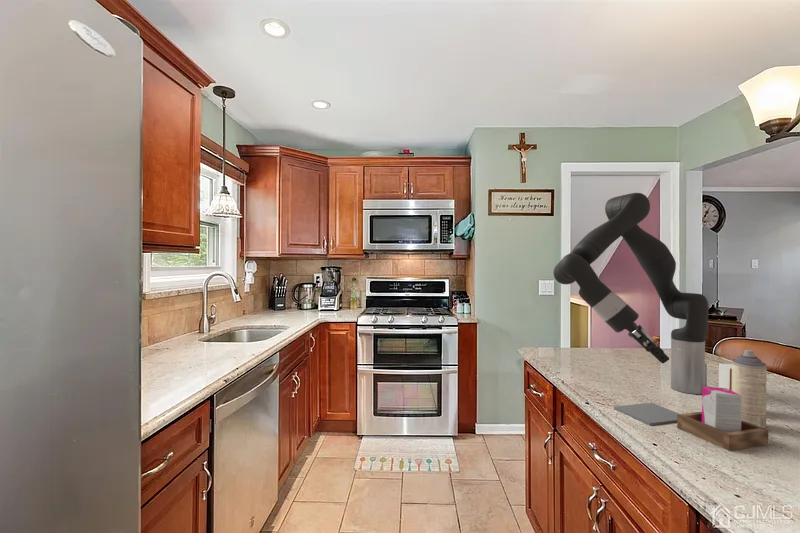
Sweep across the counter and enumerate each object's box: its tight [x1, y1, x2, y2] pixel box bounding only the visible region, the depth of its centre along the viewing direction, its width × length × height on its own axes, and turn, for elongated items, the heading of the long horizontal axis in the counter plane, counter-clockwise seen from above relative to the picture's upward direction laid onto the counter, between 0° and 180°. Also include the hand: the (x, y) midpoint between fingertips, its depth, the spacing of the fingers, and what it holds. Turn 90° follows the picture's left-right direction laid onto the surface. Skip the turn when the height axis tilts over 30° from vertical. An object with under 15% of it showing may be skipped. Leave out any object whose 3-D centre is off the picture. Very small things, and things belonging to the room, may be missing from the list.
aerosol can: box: [731, 349, 768, 429], centre depth 100 cm, size 7×7×20 cm
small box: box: [718, 363, 732, 391], centre depth 110 cm, size 8×6×13 cm
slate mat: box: [613, 402, 680, 426], centre depth 107 cm, size 14×12×1 cm
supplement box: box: [701, 386, 742, 433], centre depth 93 cm, size 6×6×12 cm
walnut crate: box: [676, 411, 769, 451], centre depth 93 cm, size 12×12×4 cm
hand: (663, 357), depth 99 cm, fingers open, 8 cm apart
